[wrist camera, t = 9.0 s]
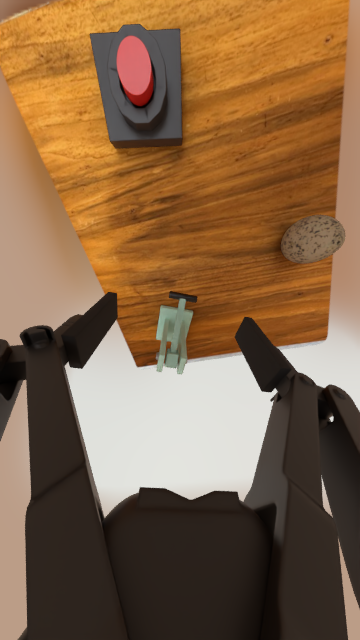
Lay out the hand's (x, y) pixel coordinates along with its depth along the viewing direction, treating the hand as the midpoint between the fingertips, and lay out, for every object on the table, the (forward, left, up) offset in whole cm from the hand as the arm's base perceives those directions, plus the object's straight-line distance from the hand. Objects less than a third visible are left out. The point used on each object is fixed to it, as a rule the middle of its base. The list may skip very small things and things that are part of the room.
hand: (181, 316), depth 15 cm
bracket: (+2, +14, -19) cm, 24 cm away
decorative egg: (-22, -5, -20) cm, 30 cm away
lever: (+1, +9, -11) cm, 14 cm away
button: (+4, -22, -16) cm, 28 cm away
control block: (+4, -22, -19) cm, 30 cm away
